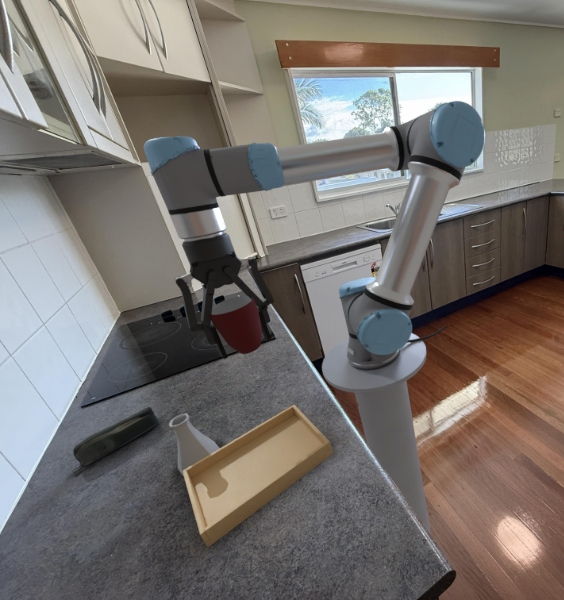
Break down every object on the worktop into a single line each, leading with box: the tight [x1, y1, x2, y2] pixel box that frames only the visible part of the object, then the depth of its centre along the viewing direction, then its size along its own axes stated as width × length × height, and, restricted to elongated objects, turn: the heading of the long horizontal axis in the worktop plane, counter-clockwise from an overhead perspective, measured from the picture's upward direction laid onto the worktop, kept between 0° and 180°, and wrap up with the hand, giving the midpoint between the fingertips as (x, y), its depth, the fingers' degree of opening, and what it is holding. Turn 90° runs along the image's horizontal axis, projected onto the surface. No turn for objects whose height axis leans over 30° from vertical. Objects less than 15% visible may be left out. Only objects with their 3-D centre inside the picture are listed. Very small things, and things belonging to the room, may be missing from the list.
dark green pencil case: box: [72, 406, 159, 474], centre depth 66 cm, size 5×3×15 cm
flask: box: [168, 412, 221, 477], centre depth 59 cm, size 7×7×10 cm
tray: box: [182, 404, 334, 548], centre depth 56 cm, size 21×15×3 cm
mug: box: [208, 295, 263, 355], centre depth 62 cm, size 11×8×10 cm
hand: (246, 346), depth 64 cm, fingers closed on mug, 8 cm apart
